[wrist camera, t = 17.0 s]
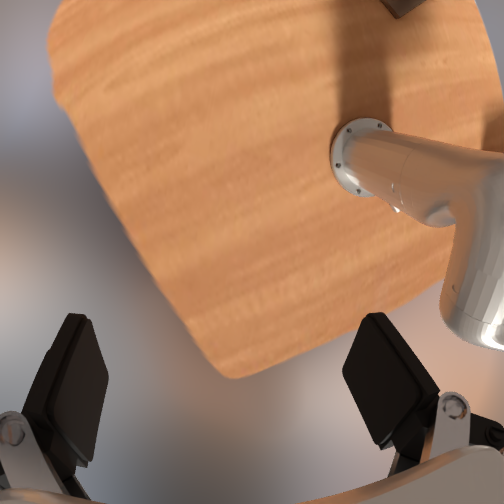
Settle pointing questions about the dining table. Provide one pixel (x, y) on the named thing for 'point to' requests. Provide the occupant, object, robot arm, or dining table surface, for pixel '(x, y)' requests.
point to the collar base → (401, 6)
